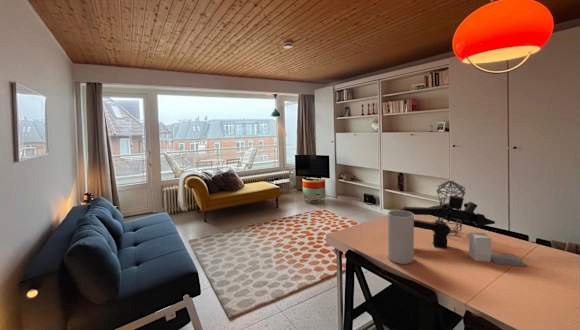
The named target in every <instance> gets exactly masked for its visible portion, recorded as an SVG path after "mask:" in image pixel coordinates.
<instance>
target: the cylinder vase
mask: <svg viewBox="0 0 580 330" xmlns="http://www.w3.org/2000/svg"><path fill="white" fill-rule="evenodd" d="M414 220H415V215H414V214H413V213H412V212H409V211H403V210H401V209H397V210H396V209H395V210H389V211H388V212H387V245H388V246H387V253H388V255H387V257H388V259H389V260H390V261H391V262H393V263H395V264H399V265H408V263H409V264H412V263H413V262H414V251H415V250H414V244H415V242H414V237H415V236H414V235H415V233H414V232H415V231H414V229H415V227H414Z"/></svg>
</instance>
